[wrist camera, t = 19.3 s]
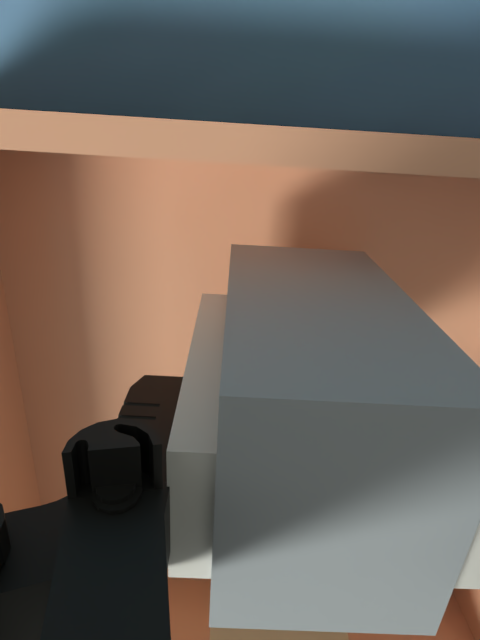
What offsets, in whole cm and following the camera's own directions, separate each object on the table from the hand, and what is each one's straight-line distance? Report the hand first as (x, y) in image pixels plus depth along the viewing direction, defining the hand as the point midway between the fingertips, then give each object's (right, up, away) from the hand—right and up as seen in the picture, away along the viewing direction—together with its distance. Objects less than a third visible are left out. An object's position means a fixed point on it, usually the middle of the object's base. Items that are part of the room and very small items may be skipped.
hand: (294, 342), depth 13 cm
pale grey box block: (0, +1, +1) cm, 1 cm away
